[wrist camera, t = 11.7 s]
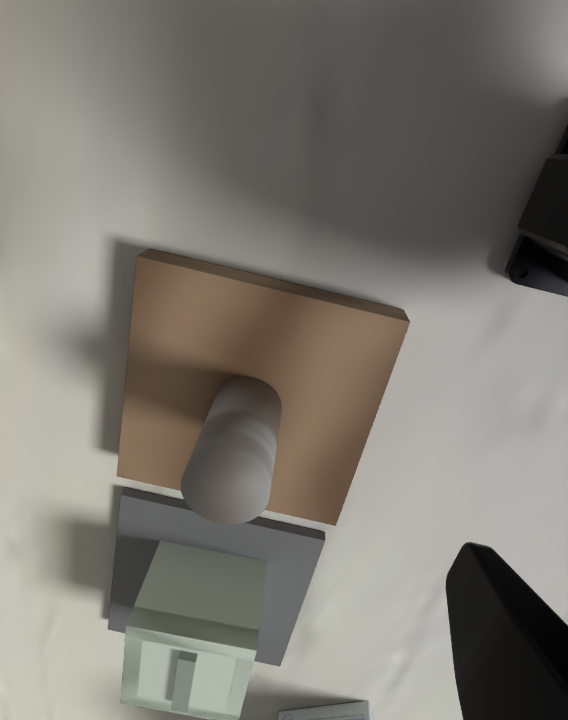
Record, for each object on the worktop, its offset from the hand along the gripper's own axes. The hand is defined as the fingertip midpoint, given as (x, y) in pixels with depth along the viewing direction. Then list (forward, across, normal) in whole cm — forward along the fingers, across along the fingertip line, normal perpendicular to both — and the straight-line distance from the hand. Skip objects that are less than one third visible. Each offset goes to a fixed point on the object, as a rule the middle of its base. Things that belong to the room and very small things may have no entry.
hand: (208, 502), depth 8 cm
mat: (+13, 0, +18) cm, 22 cm away
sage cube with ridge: (+12, 0, +18) cm, 22 cm away
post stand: (+13, 0, +5) cm, 14 cm away
